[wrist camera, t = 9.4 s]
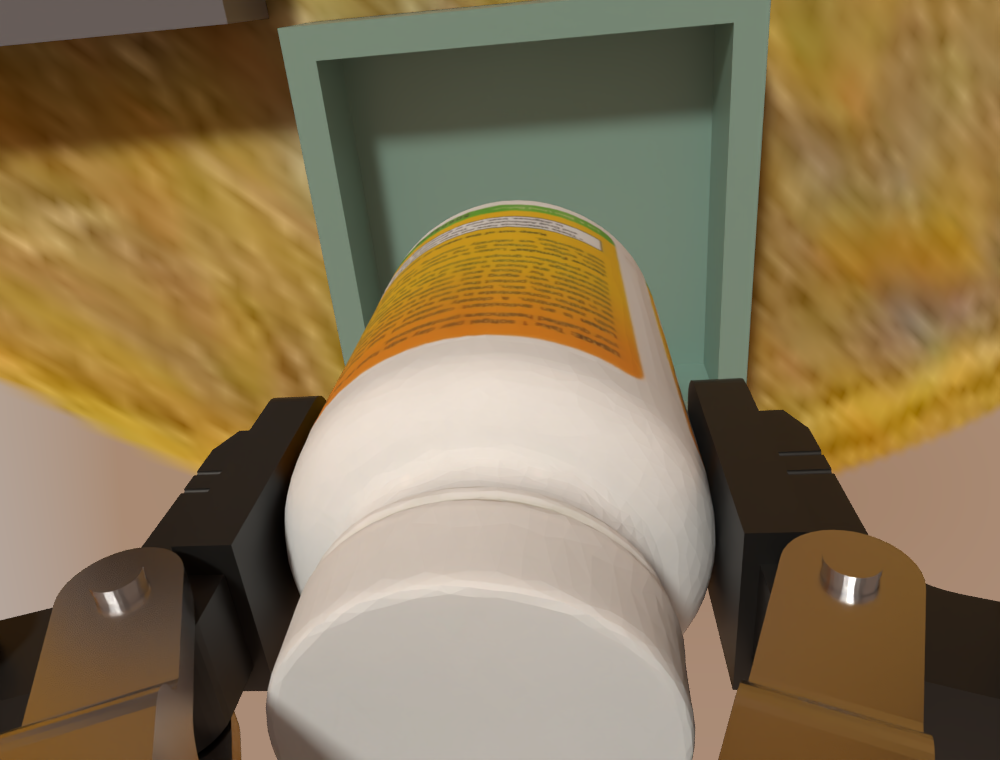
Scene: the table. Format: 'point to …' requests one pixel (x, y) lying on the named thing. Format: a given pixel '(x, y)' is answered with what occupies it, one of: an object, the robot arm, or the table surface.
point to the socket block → (115, 17)
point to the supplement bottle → (498, 513)
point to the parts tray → (545, 144)
